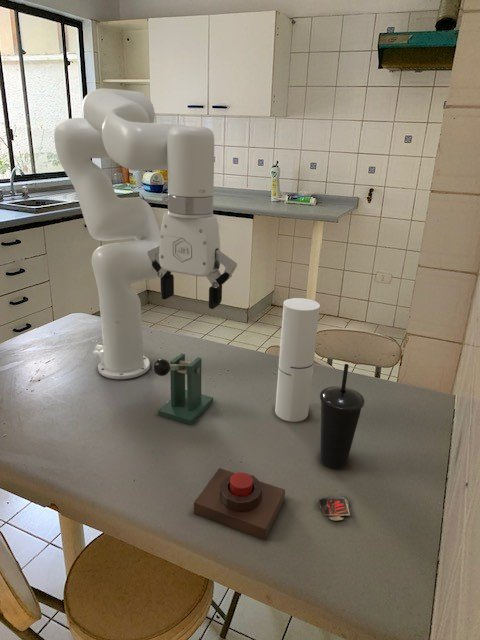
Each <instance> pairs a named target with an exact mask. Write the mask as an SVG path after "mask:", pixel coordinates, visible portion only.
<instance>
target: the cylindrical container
mask: <svg viewBox="0 0 480 640" xmlns="http://www.w3.org/2000/svg"><path fill="white" fill-rule="evenodd" d="M320 308H321V305H320V303H319V302H318V301H316V300H313V299H309V298H305V297H303V298H302V297H293V298H287V299H285V300H284V301H283V305H282V317H281V329H280V333H281V334H280V344H279V355H278V371H277V383H276V394H275V395H276V396H275V406H274V407H275V408H274V413H275V415H276V416H277V418H279V419H281V420H282V421H286V422H293V423H297V422H303V421H305V420H306V419H307V418H308V417H309V409H310V401H311V400H310V399H311V393H312V392H311V390H312V381H313V375H314V374H313V373H314V366H315V365H314V364H315V363H314V362H315V356H316V355H315V354H316V345H317V338H318V337H317V336H318V328H319V319H320V310H321V309H320Z"/></svg>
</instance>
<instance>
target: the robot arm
mask: <svg viewBox="0 0 480 640" xmlns="http://www.w3.org/2000/svg"><path fill="white" fill-rule="evenodd" d="M81 109H82V114H83V117H73V118H66V119H64V120H62V121H60V122H59V123H57V125H56V126H55V130H54V134H53V137H54V146H55V147H54V148H55V151H56V155H57V158H58V160H59V163H60V165H61V167H62V169H63V171H64V173H65V175H67V177H68V178H69V180H70V182H71V185H72V186H73V188H74V191H75V193H76V197H77V201H78V204H79V206H80V210H81V213H82V217H83V219H84V223H85V226H86V228H87V231H88V234H89V235H90V236H91V238H92V239H94V240H96V241H99V242H100V241H101V242H107V241H108V242H110V241H120V240H127V239H128V241H120V242H111V243H107V244H103V245H100V246H98V247H97V248H96V249H95V250H94V251H93V252H92V255H91V267H92V272H93V275H94V280H95V283H96V288H97V294H98V302H99V315H100V326H101V327H100V328H101V338H102V344H101V345H100V344H96V345H95V346H94V350H93V351H92V355H93V356H94V357H98V358H100V362H99V363H98V365H97V369H98V374H100V375H101V376H103V377H104V378H106V379H107V378H108V379H111V380H129V379H135V378H137V377H141V376H142V375H144V374H146V373H147V372H148V371H149V369H151V368H150V367H151V362H150V359H149V358H148V357H147V356H145V355H144V344H143V343H144V341H143V340H144V339H143V319H142V304H141V303H142V302H141V299H140V296H139V295H138V294H137V292H135V291H134V289H133V288H131V284H134V283H138V282H144V281H150V280H155V279H159V278H160V293H161V299H162V300H167V299H169V298H171V297H173V296H174V295H175V278H174V277H175V276H174V274H172V273H176V274H182V275H187V276H192V277H193V276H194V277H200V278H201V277H203V278H204V277H206V279H207V280H208V282H209V283H210V284H211V286H210V287H208V308H209V309H210V310H214V309H216V308H217V307H219V306H220V304H221V303H222V301H223V285H224V284H226V282H227V281H229V279H231V278H232V276H233V274H234V272H235V271H236V269H237V267H238V264H237V262H236V261H235V260H233V259H232V258H230V257H229V256H228V255H226V254H225V253H223V252H222V251H221V240H220V239H221V237H220V229H219V222H218V217H217V215H216V214H214V185H215V180H214V179H215V178H214V177H215V134H214V132H213V130H211V128H208V127H205V126H196V125H194V126H193V125H185V124H184V125H183V124H176V123H175V124H174V123H160V122H155V119H156V116H155V115H156V113H155V108H154V104H153V103H152V101H151V99H150V98H149V96H147V94H146V93H143V92H142V91H137V90H129V89H118V88H117V89H116V88H105V87H103V88H102V87H101V88H96V89H93V90H91V91H90V92H88V93H87V94H86V95H85V96H84V98H83V101H82V105H81ZM92 159H111V160H112V161H113V162H115V164H116V163H117V164H118V165H119V166H121V167H123V168H125V169H127V170H130V171H138V172H146V171H147V172H148V171H149V172H150V171H167V195H164V196H163V197H162V198H161V199H162V200H161V201H162V204H164V205H167V211H165V212H164V213H163V215H162V221H161V226H160V228H159V225H158V222H157V218H156V215H155V213H154V210H153V208H152V206H151V205H150V204H149V202H148V201H146V200H144V199H143V198H140V197H119V196H118V195H117V194H116V192H115V188H114V185H113V181H112V180H111V178H110V177H109V175H108V174H107V173H106V172H105V171H104V170H103V169H102V168H101V167H100V166H99V165H98V164H96V163H95V162H93V160H92ZM129 239H134V240H129ZM221 265H222V266H223V267H224V268H225V269H224V271H223V273H221V272H220V267H221Z"/></svg>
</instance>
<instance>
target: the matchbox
mask: <svg viewBox="0 0 480 640" xmlns="http://www.w3.org/2000/svg"><path fill="white" fill-rule="evenodd" d="M318 504H319V508H320V510H321V512H322V513H323V515H324V516H328V518H329V519H330V520H331V521H334V522H337V521H343V520H344V519H345V518H344V516H351V515H350V509H349V501H348V499H347V498H346V497H324V498H320V499H318ZM342 516H343V517H342Z"/></svg>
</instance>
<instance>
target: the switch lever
mask: <svg viewBox="0 0 480 640" xmlns="http://www.w3.org/2000/svg"><path fill="white" fill-rule="evenodd" d="M191 362H192V361H190V360H189V361H188V360H185V361H179V364H170V361H168V360H167V359H165V358H159V359H157V360H155V362H154V363H153V365H152V370H153V373H154V374H155V375H157V376H160V377H164V376H167V375H168V374H170V370H178V371H177V372H179V373H183V374H185V375H187V365H189V364H190V363H191Z"/></svg>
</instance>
